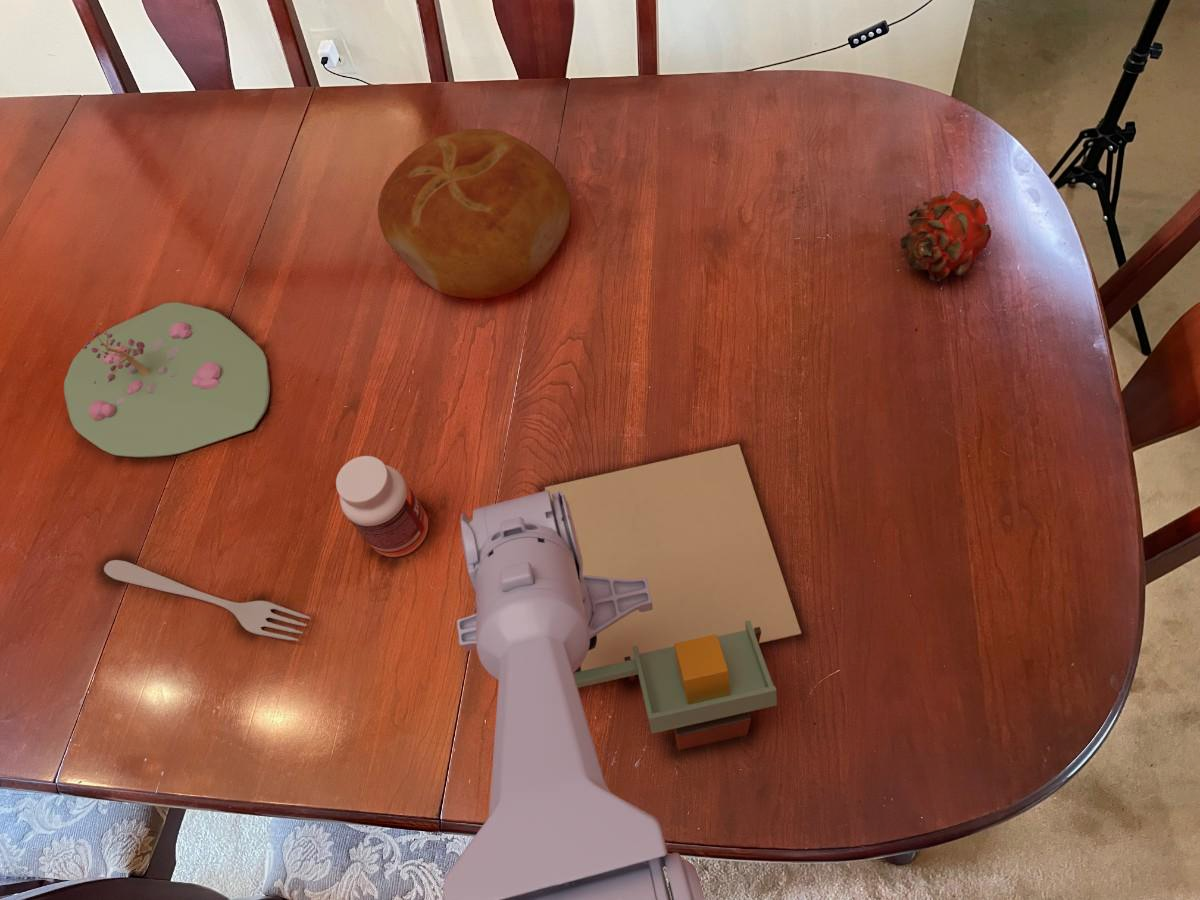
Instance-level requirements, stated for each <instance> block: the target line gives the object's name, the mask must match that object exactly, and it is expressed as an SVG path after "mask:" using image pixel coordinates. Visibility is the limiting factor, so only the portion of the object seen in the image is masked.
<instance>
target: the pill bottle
mask: <svg viewBox="0 0 1200 900" xmlns="http://www.w3.org/2000/svg"><path fill="white" fill-rule="evenodd" d="M335 487H336V491H337V493H338V495H339V504H340V508H341V511H342V513H343V514H344V515H345V517H346V518H347V519H348V520H349V521H350V523H351V524H352V525H353V526H354V527H355V529H356V530H357V531H358V532H359V533H360V535H361V536H362V537H363V538H364V540H365V541H366V542H367V544H368V545H370V546H371V548H372V549H373V550H374V551H375V552H377V553H378V554H380V555H383V556H386V557H389V558H398V557H402V556H406V555H409V554H410V553H412V552H414V551H415V550H416V549H417V548H419V547H420V546H421V544H422V543H423V542H424V540H425V539H426V536H427V534H428V530H429V517H428V516H427V513H426V511H425V509H424V507H423V506H422V505H421V503H420V501H419V500H418V498H417V496H416V495H415V494H414V492H413V490H412V489H411V487H410V486H409V484H408V482H407V481H406V480H405V478H404V476H403V475H402V474H401V472H400V471H398V470H397V469H396V468H394V467H393V466H390V465H388V464H385V463H384V462H383V461H382V460H381V459H380V458H378V457H375V456H372V455H361V456H356V457H354V458H352V459H350V460H349V461H347V462H346V463H345V464H344V465H343V466H341V468H340V469H339V471H338V473H337V475H336V479H335Z"/></svg>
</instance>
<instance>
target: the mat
mask: <svg viewBox="0 0 1200 900" xmlns="http://www.w3.org/2000/svg"><path fill="white" fill-rule="evenodd" d="M547 490H549V492H550V495H551V498H552V499H553V497H552V494H554V493H558V492H559V490H561V492H562V494H563V495H564V496H565V498H566V500H567V502H568V504H569V507H570V511H571V515H572V518H573V522H574V526H575V530H576V534H577V538H578V542H579V546H580V550H581V554H582V559H583V575H589V576H598V577H606V578H615V579H626V580H632V579H640V578H647V582H648V586H649V591H650V595H651V599H652V605H653V610H650V611H645V612H640V611H639V610H636V611H634V612H632V613H630V614H629V615H627V616H625V617H624V618H622V619H621V620H619V621H617V622H616V623H614V624H613V625H611V626H609V627H608V628H606V629H605V630H603V631H602V632H600V633H598V634H597V642H596V646H595V648H593V649H591V650H589V651H588V652H587V655H586V657H585V659H584V661H583V662H582V664H581V671H584V670H588V669H593V668H597V667H602V666H606V665H611V664H615V663H619V662H624V661H625V660H624V657H628V656H630V659H631V660H633V659H635V657H634V653H633V648H632V647H634V646H637V648H638V652H639V654H642V653H646V652H651V651H655V650H660V649H664V648H669V647H673V646H674V644H675V643H679V642H684V641H688V640H693V639H697V638H702V637H706V636H710V635H715V634H716V635H717V636H722V635H726V634H731V633H735V632H739V631H744V630H746V624H745V621H749V620H750V622H751V624H752V627H753V630H754V628H756V627H760V629H761V636H760V641H759V645H760V644H763V643H769V642H773V641H777V640H781V639H786V638H790V637H794V636H795V637H796V636H799V635H802V630H801V628H800V625H799V622H798V619H797V616H796V613H795V610H794V606H793V604H792V601H791V597H790V594H789V591H788V588H787V585H786V581H785V580H784V575H783V574H782V570H781V567H780V565H779V561H778V558H777V555H776V552H775V549H774V546H773V542H772V540H771V537H770V534H769V531H768V528H767V524H766V521H765V518H764V515H763V513H762V510H761V507H760V503H759V500H758V497H757V494H756V491H755V489H754V485H753V482H752V479H751V477H750V472H749V470H748V467H747V464H746V461H745V457H744V455H743V452H742V449H741V445H740V443H737V444H733V445H728V446H724V447H723V446H722V447H719V448H715V449H710V450H706V451H702V452H697V453H696V452H695V453H693V454H688V455H683V456H679V457H673V458H670V459H665V460H661V461H656V462H653V463H648V464H643V465H639V466H634V467H629V468H626V469H621V470H616V471H612V472H607V473H603V474H598V475H594V476H589V477H585V478H580V479H576V480H575V479H574V480H571V481H567V482H562V483H558V484H553V485H549V486H544V491H547Z"/></svg>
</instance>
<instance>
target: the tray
mask: <svg viewBox="0 0 1200 900" xmlns="http://www.w3.org/2000/svg"><path fill="white" fill-rule="evenodd" d="M745 624H746V630H744V631H739V632H735V633H731V634H726V635H722V636H717V637H718V640H719V643H720V646H721V650H722V653H723V656H724V659H725V662H726V665H727V668H728V674H729V685H730V695H728V696H724V697H719V698H715V699H710V700H706V701H701V702H697V703H693V704H687V700H686V697H685V693H684V689H683V685H682V682H681V678H680V674H679V670H678V665H677V659H676V653H675V647H674V646H673V647H669V648H664V649H660V650H655V651H651V652H646V653H642V654H639V652H638V648H637V646H634V647H632V648H633V653H634V657H635V659H633V660H628V661H624V662H619V663H615V664H611V665H606V666H602V667H597V668H593V669H588V670H584V671H581V665H580V666H579V668H578V669H577V670H576V671H575V672H574V673H573V675H574V678H575V681H576V685H577V688H578V689H580V688H583V687H588V686H593V685H597V684H602V683H606V682H611V681H614V680H619V679H623V678H627V677H628V678H629V676H633V675H635V676H637V675H638V679H639V684H640V688H641V692H642V693H641V694H642V697H643V702H644V706H645V710H646V715H647V720H648V725H649V728H650V733H651V734H656V733H657V734H658V733H661V732H666V731H671V730H673V729H674V730H675V728H679V727H684V726H688V725H693V724H697V723H701V722H706V721H710V720H715V719H719V718H724V717H728V716H732V715H737V714H741V713H746V712H749V713H750V712H755V711H759V710H763V709H767V708H772V707H776V706H778V695H777V688H776V687H777V686H776V685H774V683H773V680H772V677H771V674H770V672H769V669H768V666H767V664H766V660H765V658H764V655H763V652H762V650H761V647H760V644H758V641H757V638H756V636H755V633H754V630H753V627H752V624H751V622H750V620H749V621H745Z"/></svg>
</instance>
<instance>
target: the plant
mask: <svg viewBox="0 0 1200 900" xmlns="http://www.w3.org/2000/svg"><path fill="white" fill-rule="evenodd" d="M99 334H100V333H99V332H98V331H96V332H94V333H93V334H92V338H94V339H93V340H88V341H86V342H85V345H84V346H83V347H82V348H81V350H80V351H79V352H78V353H77V354H76V355H75V356H74V358H73V359H72V361H71V363H70V366H69V368H68V370H67V373H66V375H65V378H64V383H63V394H64V399H65V403H66V409H67V412H68V417H69V420H70V423H71V425H72V427H73V428H74V430H76V431H77V433H78V434H79V435H81V436H82V437H83V438H84V439H86V440H87V441H88V442H90V443H91V444H93V445H94V446H95V447H97V448H98V449H100V450H102V451H104V452H106V453H108V454H110V455H113V456H117V457H123V458H124V457H126V458H139V459H140V458H158V457H159V458H160V457H169V456H175V455H181V454H184V453H188V452H191V451H194V450H197V449H200V448H203V447H206V446H209V445H211V444H214V443H217V442H221V441H223V440H227V439H230V438H232V437H236V436H239V435H241V434H244V433H247V432H250V431H253V430H255V428H256V427H257V425H258V424H259V422H260V421H261V419H262V418H263V416H264V415H265V413H266V411H267V408H268V406H269V403H270V402H269V401H270V396H271V395H270V394H271V382H270V374H269V364H268V359H267V356H266V353H265V352H264V350H263V349H262V348H261V347H260V346H259V344H257V343H256V342H255V341H254V340H253V339H252V338H251V337H250V336H249V335H247V334H246V333H245V332H244V331H242V330H241V329H240V328H239V327H238V326H237V325H236V324H235V323H233V322H232V321H231V320H230V319H228V318H227V317H226V316H225V315H223V314H221V313H220V312H218V311H215V310H212V309H209V308H206V307H201V306H197V305H192V304H189V303H183V302H180V301H179V302H165V303H161V304H159V305H157V306H155V307H153V308H151V309H148V310H147V311H146V310H145V311H143V312H142V313H140V314H137V315H135V316H133V317H131V318H128V319H126V320H125V321H122V322H119V323H118V324H115V325H113V326H112V327H110V328H108V329H107V330H105V331H103V333H101V334H100V335H99Z"/></svg>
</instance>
